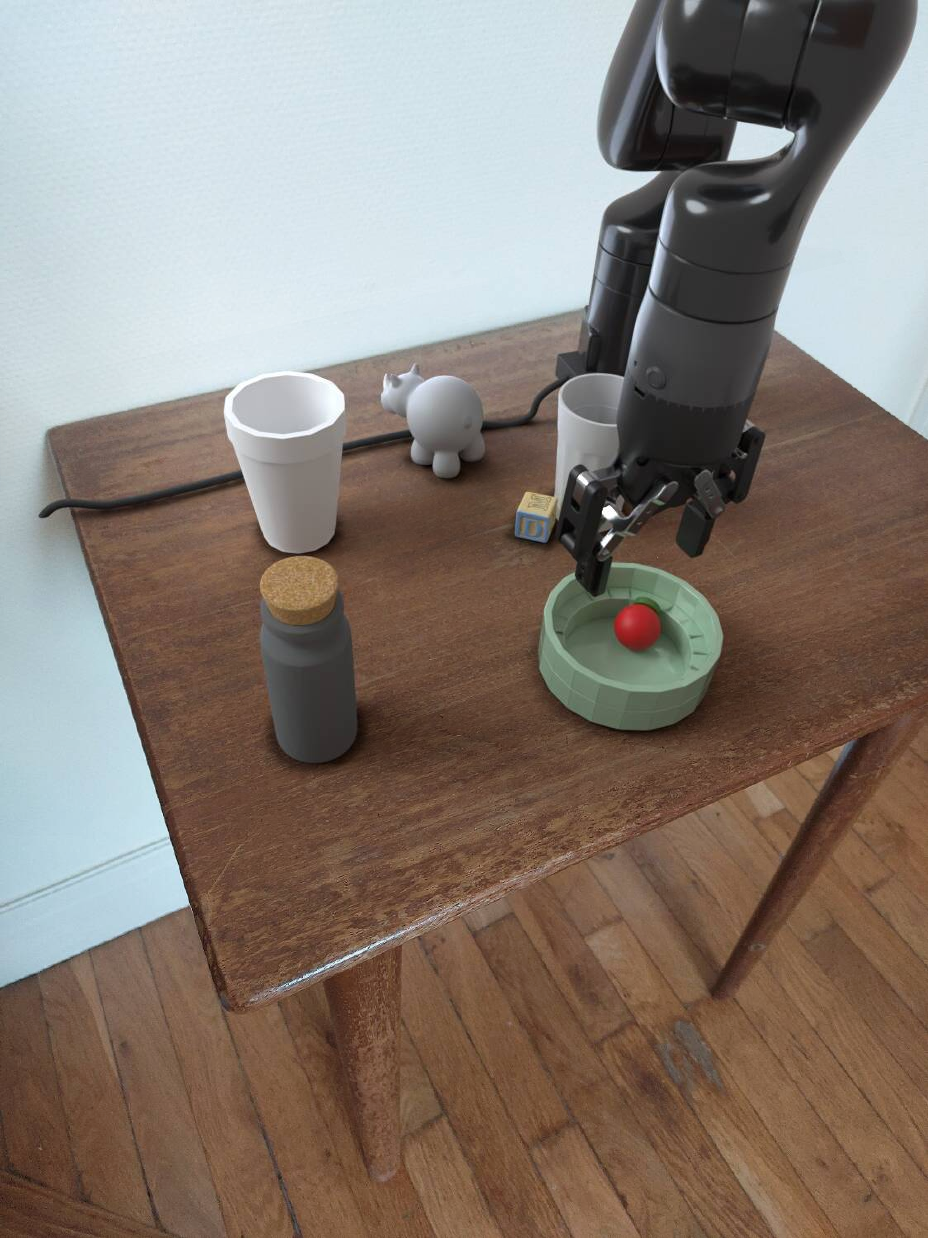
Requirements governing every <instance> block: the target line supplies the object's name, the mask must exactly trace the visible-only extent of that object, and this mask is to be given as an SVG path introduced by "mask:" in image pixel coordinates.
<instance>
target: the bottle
mask: <svg viewBox="0 0 928 1238" xmlns="http://www.w3.org/2000/svg"><path fill="white" fill-rule="evenodd" d="M339 585H340V582H339V575H338V572H337V571H336V569H335V568H334V567H333V566H332V565H331V564H330V563H328V562H326V561H325V560H323V559H320V558H317V557H314V556H308V555H296V556H290V557H286V558H283V559H281V560H279V561H276V562H275V563H273V564H272V565H271V566H270V567H268V568H267V569H266V570H265V572H264V573H263V574H262V576H261V578H260V582H259V590H260V593H261V596H262V598H261V601H260V605H259V606H260V607H259V610H260V617H261V621H262V625H261V627H260V631H259V644H260V645H259V647H260V652H261V653H260V654H261V659H262V664H263V671H264V676H265V681H266V687H267V692H268V699H269V705H270V709H271V716H272V720H273V726H274V732H275V737H276V739H277V740H276V741H277V743H278V745H279V747H280V748H281V750H282V752H284V753H285V754H286V755H288V756H289V757H290V758H291V759H294V760H296V761H298V762H302V763H307V764H323V763H327V762H330V761H333V760H335V759H338V758H339V757H341V756H342V755H343V754H345V753H346V752H347V751H348V750H349V749H350V748H351V746H352V745H353V743H354V742H355V739H356V738H357V733H358V711H357V710H358V709H357V694H356V679H355V677H356V676H355V665H354V664H355V662H354V648H353V647H354V646H353V636H352V629H351V625H350V621H349V619H348V617H347V616H346V615H345V604H344V603H345V602H344V598H343V595H342V591H341V590H340V589H339Z"/></svg>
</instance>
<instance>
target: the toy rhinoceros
mask: <svg viewBox="0 0 928 1238" xmlns="http://www.w3.org/2000/svg"><path fill="white" fill-rule="evenodd" d="M389 377H390V379H389ZM382 385H383V386H382V387H383V391H382V393H381V394H380V401H381V402H380V403H381V406H382V408H383V409H384V410H385V411H386V412H387V413H389V414H392V415H398V416H400V417H402V418H406V422H407V427H408V430H410V432H411V433H412V435H413V437H412V438H414V439H413V442H412V444H411V447H410V457H411V460H412V461H413V462H414V464H417V465H421V466H429V465H432V470H433V473H434V475H435V476H436V477H438V478H441V479H452V478H455V477H456V476H458V475H459V473H460V470H461V469H460V468H461V461H460V459H462V460H463V461H465V462H477V461H480V460H481V459H483V457H484V455H485V450H486V445H485V440H484V437H483V435H482V433H481V429H482V428H481V427H482V423H483V421H484V408H483V404H482V401H481V398H480V395H479V394H478V392H477V391H476V390H475V389H474V387H473V386H472V385H471V384H469V383H468V382H467V381H465V380H463V379H461V378H459V377H457V376H453V375H437V376H434V377H431V378H428V379H427V380H425V379H424V378H423V377H422V376H421V374H420V367H419V364H418V362H414V364H413V365H412V367H411V369H410V371H409V372H406V373H402V374H399V375H397V374H395V373H391V374H390V375H388V373H385V374H384V377H383V382H382Z"/></svg>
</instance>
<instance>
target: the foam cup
mask: <svg viewBox="0 0 928 1238" xmlns="http://www.w3.org/2000/svg"><path fill="white" fill-rule="evenodd" d="M223 416H224V422H225V429H226V434H227V438H228V440H229V441H230V443H231V444H232V446H233V449H234V453H235V455H236V459H237V461H238V464H239V467H240V470H242V473H243V476H244V478H243V479H244V482H245V485H246V488H247V491H248V493H249V497H250V500H251V502H252V506H253V509H254V511H255V514H256V515H255V516H256V518H257V522H258V524H259V527H260V530H261V532H262V533H263V537H264V539H265V540H266V542H267V543H268V544H269V546H271V547H272V548H275V549H276V550H278V551H280V552H282V553H289V554H291V553H292V554H297V555H299V554H304V553H309V552H314V551H315V552H316V551H317V550H319V549H320V548H322V547H324V546H326V545H328V544H329V542H330V541H331V539H332V538H333V537H334V536H335V532H336V530H335V529H336V526H337V514H338V504H339V503H338V502H339V491H340V480H341V467H342V460H343V459H342V457H343V452H342V447H343V443H344V438H346V436H347V423H346V422H347V421H346V404H345V394H344V393H343V392H342V390H341V389H340V388H338V386H337V385H336V383H334V382H333V381H331V380H329V379H326V378H323V377H322V376H319V375H316V374H314V373H311V372H310V373H308V372H300V371H289V370H284V371H276V372H271V373H270V372H269V373H262V374H259V375H257V376H254V377H252V378H250V379H247V380H245V381H242V382H240V383H238V384H237V385H236V386H235V387H234V388H233V389H232V390H231V391H230V392H229V393H228V394H227V395H226V396H225V399H224V407H223Z"/></svg>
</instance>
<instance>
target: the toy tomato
mask: <svg viewBox="0 0 928 1238" xmlns="http://www.w3.org/2000/svg"><path fill="white" fill-rule="evenodd" d="M659 613H660V606H659V605H658V603H657V602H655V601H654V600H652V599H650V598H647V597H638V598H636V599H635V600H634V602H633V604H632V605H630V606H627V607H625V608H624V609H623V610H621V611H620V612H619V614H618V615H617V617H616V619H615V623H614V632H615V635H616V637H617V639H618V641H619V642H620V643H621V644H622V645H623V646H625V647H626V648H629V649H632V650H643V649H646V648H648V647H650V646H652V645H653V644H654V643H655V642H656V641H657V639H658V637H659V635H660V631H661V623H660V620H659V617H658V615H659Z"/></svg>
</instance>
